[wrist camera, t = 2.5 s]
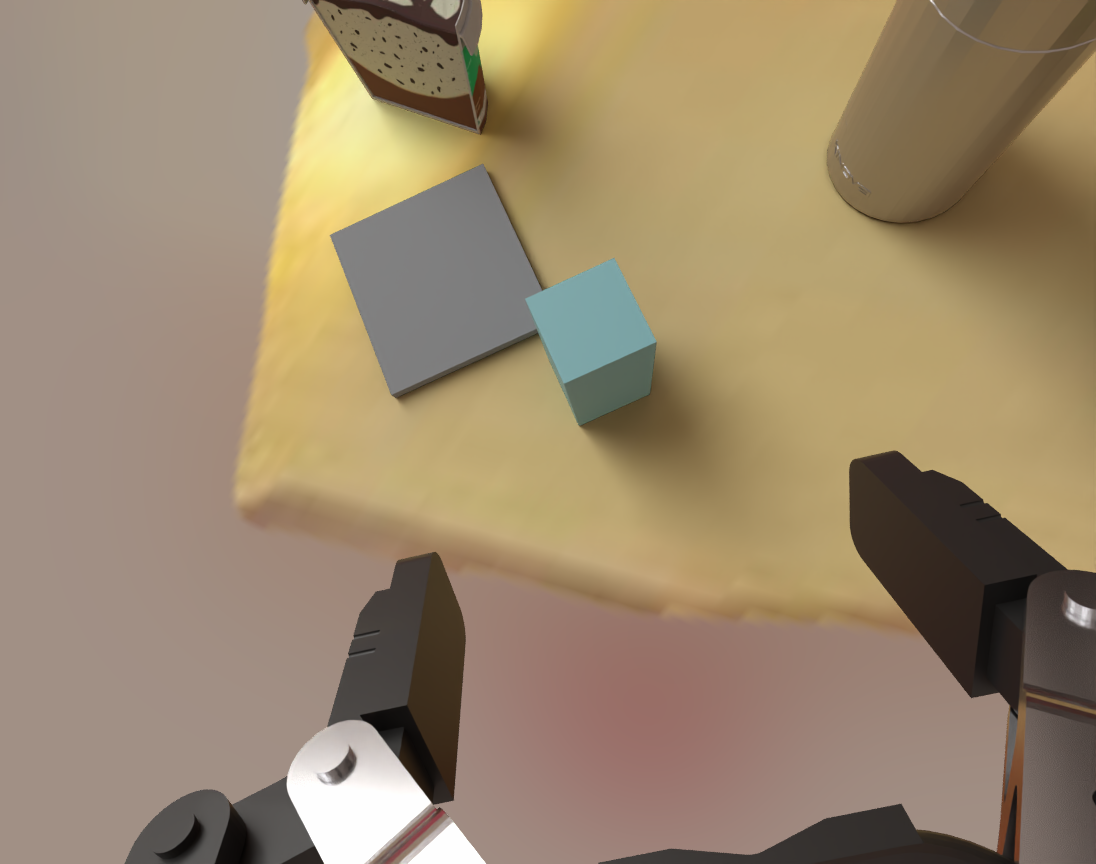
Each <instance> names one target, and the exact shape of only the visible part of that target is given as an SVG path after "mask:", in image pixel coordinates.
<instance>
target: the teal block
mask: <svg viewBox="0 0 1096 864" xmlns="http://www.w3.org/2000/svg"><path fill="white" fill-rule="evenodd" d="M525 300H526V303H527V305H528V308H529V310H530V313H531V315H532V318H533V321H534V323H535V326H536V328H537V331H538V333H539V336H540V338H541V341H542V344H543V346H544V349H545V351H546V354H547V356H548V359H549V361H550V363H551V366H552V368H553V370H554V372H555V374H556V377H557V379H558V381H559V383H560V385H561V388H562V390H563V392H564V394H565V396H566V398H567V401H568V403H569V405H570V407H571V409H572V412H573V414H574V416H575V418H576V420H577V423H578V425H579V426H580V425H583V424H585V423H587V422H589V421H592V420H594V419H596V418H598V417H600V416H603V415H605V414H607V413H609V412H612V411H614V410H616V409H618V408H620V407H623V406H625V405H627V404H629V403H631V402H634V401H636V400H638V399H640V398H643V397H645V396H647V395H649V394H650V389H651V382H652V374H653V366H654V358H655V350H656V340H655V338H654V336H653V334H652V332H651V330H650V328H649V326H648V324H647V322H646V320H645V318H644V316H643V314H642V312H641V310H640V308H639V306H638V304H637V302H636V300H635V298H634V296H633V294H632V292H631V290H630V288H629V286H628V284H627V282H626V280H625V278H624V276H623V274H622V272H621V270H620V268H619V267H618V265H617V263H616V261H615V259H614V258H613V259H611V260H609V261H606V262H604V263H602V264H600V265H598V266H596V267H593V268H591V269H589V270H587V271H585V272H582V273H580V274H578V275H576V276H574V277H572V278H569V279H567V280H565V281H563V282H561V283H558V284H556V285H554V286H552V287H550V288H548V289H545V290H543V291H541V292H539V293H537V294H534V295H532V296H530V297H528V298H526V299H525Z"/></svg>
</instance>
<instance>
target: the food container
mask: <svg viewBox="0 0 1096 864" xmlns="http://www.w3.org/2000/svg"><path fill="white" fill-rule="evenodd" d="M302 1H303V3H304V4H307V2H308V1H309V2H310V3H311V5H312V6H313V8H314V10H315V11H316V13H317V14H318V16H319V17H320V19H321V20H322V22H323V24H324V25H325V27H326V28H327V30H328V31H329V33H330V34H331V36H332V37H333V39H334V41H335V42H336V44H337V45H338V47H339V48H340V50H341V51H342V53H343V54H344V56H345V58H346V59H347V61H348V62H349V64H350V65H351V67H352V68H353V70H354V71H355V73H356V74H357V76H358V78H359V79H360V81H361V82H362V84H363V85H364V87H365V88H366V90H367V91H368V93H369V95H370V96H371V98H372V99H375V100H378V101H381V102H384V103H387V104H390V105H393V106H396V107H399V108H402V109H405V110H408V111H411V112H414V113H417V114H420V115H423V116H426V117H429V118H432V119H435V120H438V121H441V122H444V123H447V124H450V125H453V126H456V127H459V128H462V129H465V130H468V131H471V132H474V133H477V134H480V135H481V132H482V130H483V128H484V125H485V123H486V117H487V106H488V101H487V95H486V89H485V84H484V78H483V72H482V66H481V61H480V55H479V49H478V41H479V37H480V33H481V29H482V8H481V1H480V0H302Z"/></svg>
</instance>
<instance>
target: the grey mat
mask: <svg viewBox="0 0 1096 864" xmlns="http://www.w3.org/2000/svg"><path fill="white" fill-rule="evenodd" d="M330 236H331V239H332V242H333V244H334V247H335V249H336V252H337V255H338V257H339V260H340V262H341V265H342V268H343V270H344V273H345V276H346V278H347V281H348V283H349V286H350V289H351V291H352V294H353V296H354V299H355V302H356V304H357V307H358V309H359V312H360V315H361V317H362V320H363V322H364V325H365V328H366V330H367V333H368V335H369V338H370V341H371V343H372V346H373V348H374V351H375V354H376V356H377V359H378V362H379V364H380V367H381V369H382V372H383V375H384V377H385V380H386V382H387V385H388V388H389V390H390V393H391V395H392V396H394V397H395V398H397V397H399V396H401V395H403V394H405V393H408V392H410V391H412V390H414V389H416V388H419V387H421V386H423V385H425V384H427V383H429V382H432V381H434V380H436V379H438V378H440V377H443V376H445V375H447V374H449V373H451V372H454V371H456V370H458V369H460V368H462V367H465V366H467V365H469V364H471V363H473V362H476V361H478V360H480V359H482V358H484V357H487V356H489V355H491V354H493V353H495V352H497V351H500V350H502V349H504V348H506V347H508V346H511V345H513V344H515V343H517V342H519V341H522V340H524V339H526V338H528V337H530V336H533V335H535V334H537V333H538V331H537V328H536V326H535V323H534V321H533V318H532V315H531V313H530V310H529V308H528V305H527V303H526V300H525V299H526V298H528V297H530V296H532V295H534V294H537V293H539V292H541V291H542V289H541V287H540V285H539V283H538V280H537V278H536V276H535V274H534V272H533V270H532V268H531V265H530V263H529V261H528V259H527V257H526V255H525V253H524V250H523V248H522V246H521V244H520V242H519V240H518V238H517V235H516V233H515V231H514V229H513V227H512V225H511V223H510V220H509V218H508V216H507V214H506V212H505V210H504V208H503V205H502V203H501V201H500V199H499V197H498V195H497V193H496V190H495V188H494V186H493V184H492V182H491V180H490V178H489V175H488V173H487V171H486V169H485V167H484V165H483V164H481V165H479V166H477V167H475V168H473V169H471V170H469V171H466V172H464V173H462V174H460V175H458V176H456V177H454V178H451V179H449V180H447V181H445V182H443V183H441V184H439V185H436V186H434V187H432V188H430V189H428V190H426V191H423V192H421V193H419V194H417V195H415V196H413V197H411V198H408V199H406V200H404V201H402V202H400V203H398V204H396V205H393V206H391V207H389V208H387V209H385V210H383V211H381V212H378V213H376V214H374V215H372V216H370V217H368V218H366V219H363V220H361V221H359V222H357V223H355V224H353V225H350V226H348V227H346V228H344V229H342V230H340V231H338V232H335V233H333V234H331V235H330Z"/></svg>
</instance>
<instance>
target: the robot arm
mask: <svg viewBox="0 0 1096 864" xmlns="http://www.w3.org/2000/svg"><path fill="white" fill-rule="evenodd" d="M1095 51H1096V0H897V1H896V3H895V6H894V8H893V10H892V12H891V14H890V16H889V18H888V20H887V22H886V24H885V26H884V29H883V31H882V33H881V35H880V37H879V39H878V41H877V43H876V45H875V47H874V49H873V52H872V54H871V56H870V58H869V60H868V62H867V64H866V66H865V68H864V70H863V72H862V75H861V77H860V79H859V81H858V83H857V85H856V87H855V89H854V91H853V93H852V95H851V97H850V99H849V101H848V104H847V106H846V108H845V110H844V112H843V114H842V116H841V118H840V120H839V122H838V125H837V127H836V129H835V131H834V133H833V135H832V137H831V140H830V143H829V147H828V150H827V166H828V171H829V175H830V178H831V180H832V182H833V184H834V186H835V188H836V190H837V191H838V192H839V193H840V195H841V196H842V197H843V199H844V200H845V201H847V202H848V203H849V204H850V205H852V206H853V207H854V208H855V209H857V210H859V211H861V212H862V213H864V214H866V215H868V216H870V217H874V218H877V219H880V220H883V221H890V222H898V223H904V222H917V221H921V220H925V219H929V218H932V217H934V216H936V215H939V214H941V213H943V212H945V211H946V210H948V209H949V208H950V207H952V206H953V205H954V204H956V203H957V202H958V201H959V200H960V199H961V198H962V196H963V195H964V194H965V193H966V192H967V191H968V190H969V189H970V188H971V187H972V186H973V185H974V183H975V182H976V181H977V180H978V179H979V178H980V177H981V176H982V175H983V174H984V173H985V171H986V170H987V169H988V168H989V167H990V166H991V165H992V164H993V163H994V162H995V161H996V160H997V159H998V158H999V156H1000V155H1001V154H1002V153H1003V152H1004V151H1005V150H1006V149H1007V148H1008V147H1009V146H1010V144H1011V143H1012V142H1013V141H1014V140H1015V139H1016V138H1017V137H1018V136H1019V135H1020V133H1021V132H1022V131H1023V130H1024V129H1025V128H1026V127H1027V126H1028V125H1029V124H1030V122H1031V121H1032V120H1033V119H1034V118H1035V117H1036V116H1037V115H1038V114H1039V113H1040V112H1041V110H1042V109H1043V108H1044V107H1045V106H1046V105H1047V104H1048V103H1049V102H1050V101H1051V99H1052V98H1053V97H1054V96H1055V95H1056V94H1057V93H1058V92H1059V91H1060V90H1061V88H1062V87H1063V86H1064V85H1065V84H1066V83H1067V82H1068V81H1069V80H1070V79H1071V78H1072V76H1073V75H1074V74H1075V73H1076V72H1077V71H1078V70H1079V69H1080V68H1081V67H1082V65H1083V64H1084V63H1085V62H1086V61H1087V60H1088V59H1089V58H1090V57H1091V56H1092V54H1093V53H1094V52H1095ZM849 488H850V530H851V535H852V539H853V542H854V545H855V547H856V549H857V551H858V553H859V555H860V557H861V558H862V559H863V561H864V562H865V563H866V565H867V566H868V567H869V568H870V570H871V571H872V572H873V573H874V575H875V576H876V577H877V579H878V580H879V581H880V582H881V584H882V585H883V586H884V588H885V589H886V590H887V591H888V593H889V594H890V595H891V596H892V598H893V599H894V600H895V602H896V603H897V604H898V605H899V607H900V608H901V609H902V610H903V612H904V613H905V614H906V616H907V617H908V618H909V619H910V621H911V622H912V623H913V625H914V626H915V627H916V628H917V630H918V631H919V632H920V633H921V635H922V636H923V637H924V639H925V640H926V641H927V642H928V644H929V645H930V646H931V647H932V649H933V650H934V651H935V653H936V654H937V655H938V656H939V657H940V659H941V660H942V661H943V663H944V664H945V665H946V667H947V668H948V669H949V670H950V672H951V673H952V674H953V676H954V677H955V678H956V679H957V681H958V682H959V683H960V684H961V686H962V687H963V688H964V690H965V691H966V692H967V693H968V695H969V696H970V697H971V698H973V697H979V696H984V695H989V694H993V693H1000V694H1001V695H1002V696H1003V698H1004V699H1005V700H1006V701H1007V702H1008V704H1009V711H1008V718H1007V731H1006V745H1005V760H1004V774H1003V790H1002V803H1001V819H1000V828H999V838H998V845H997V852H995V851H993V850H990V849H988V848H985V847H983V846H981V845H978V844H976V843H973V842H971V841H967V840H964V839H961V838H958V837H954V836H951V835H947V834H942V833H937V832H931V831H926V830H916V829H915V827H914V826H913V824H912V822H911V820H910V819H909V817H908V815H907V813H906V811H905V810H904V808H903V806H902V804H898V805H893V806H888V807H883V808H877V809H872V810H867V811H862V812H857V813H852V814H847V815H842V816H837V817H831V818H826V819H824V820H822V821H820V822H818V823H816V824H814V825H812V826H810V827H809V828H807V829H805V830H803V831H801V832H799V833H797V834H795V835H793V836H791V837H790V838H788V839H786V840H784V841H782V842H780V843H778V844H776V845H775V846H773V847H771V848H769V849H767V850H765V851H763V852H761V853H758V854H753V855H742V854H729V853H718V852H717V853H716V852H705V851H693V850H681V849H667V850H663V851H657V852H652V853H647V854H641V855H636V856H632V857H626V858H621V859H616V860H611V861H606V862H600V863H599V864H1096V573H1093V572H1088V571H1080V570H1068V569H1066V568H1065V567H1064V566H1063V565H1061V564H1060V563H1059V562H1058V561H1057V560H1055V559H1054V558H1053V557H1052V556H1051V555H1049V554H1048V553H1047V552H1046V551H1045V550H1043V549H1042V548H1041V547H1040V546H1039V545H1037V544H1036V543H1035V542H1034V541H1032V540H1031V539H1030V538H1029V537H1028V536H1026V535H1025V534H1024V533H1023V532H1022V531H1020V530H1019V529H1018V528H1017V527H1016V526H1014V525H1013V524H1012V523H1011V522H1010V521H1008V520H1007V519H1006V518H1002V517H1001V514H1000V513H999V512H997V511H996V510H995V509H994V508H993V507H991V506H990V505H989V504H988V503H986V504H985V503H984V502H983V499H982V498H981V497H979V496H978V495H977V494H976V493H974V492H973V491H972V490H971V489H970V488H968V487H967V486H966V485H965V484H964V483H962V482H960V481H958V480H956V479H953V478H951V477H948V476H946V475H944V474H941V473H939V472H937V471H934V470H930V471H925V472H921V471H920V470H919V469H918V468H917V467H916V466H914V465H913V464H912V463H911V462H910V461H909V460H908V459H907V458H905V457H904V456H903V455H902V454H901V453H899V452H898V451H889V452H885V453H880V454H876V455H871V456H867V457H863V458H858V459H854V460H852V462H851V464H850V469H849ZM465 638H466V637H465V627H464V621H463V616H462V612H461V610H460V607H459V604H458V601H457V599H456V596H455V594H454V591H453V589H452V586H451V583H450V581H449V578H448V576H447V573H446V571H445V568H444V566H443V563H442V561H441V558H440V556H439V555H438V554H437V553H436V552H432V553H428V554H423V555H419V556H414V557H410V558H406V559H401V560H398V561H397V563H396V566H395V570H394V574H393V578H392V582H391V587H390V589H386V590H382V591H377V592H375V594H374V595H373V596H372V598H371V599H370V600H369V602H368V603H367V604H366V606H365V607H364V609H363V610H362V611H361V612H360V614H359V618H358V622H357V625H356V628H355V632H354V640H352V642H351V646H350V649H349V653H348V654H349V658H347V660H346V663H345V667H344V670H343V674H342V677H341V681H340V684H339V688H338V691H337V695H336V698H335V701H334V705H333V709H332V712H331V716H330V719H329V722H328V726H327V728H325V729H323V730H322V731H321V732H319V733H318V734H316V735H315V736H314V737H313V738H311V739H310V740H309V741H308V742H307V743H306V744H305V745H304V746H303V747H302V749H301V750H300V751H299V753H298V754H297V756H296V757H295V759H294V760H293V762H292V765H291V767H290V769H289V773H288V776H286V777H285V778H283V779H281V780H280V781H278V782H276V783H274V784H272V785H270V786H268V787H266V788H264V789H262V790H261V791H258V792H256V793H254V794H252V795H251V796H248V797H247V798H245V799H243V800H241V801H239V802H237V803H235V804H233V805H232V804H231V803H230V802H229V800H228V799H227V798H226V797H225V796H224V794H222V793H221V792H218V791H215V790H200V791H196V792H193V793H190V794H188V795H186V796H184V797H181V798H180V799H178V800H176V801H175V802H173V803H171V804H170V805H169V806H167V807H166V808H165V809H163V810H162V811H161V812H160V813H159V814H158V815H157V816H155V818H154V819H153V820H152V821H151V822H150V823H149V824H148V825H147V826H146V827H145V829H144V830H143V831H142V832H141V834H140V835H139V837H138V838H137V840H136V841H135V843H134V845H133V847H132V849H131V851H130V853H129V855H128V857H127V859H126V862H125V864H486V863H485V862H484V861H483V860H482V859H481V857H480V856H479V854H478V853H477V852H476V851H475V849H474V848H473V847H472V845H471V844H470V843H469V842H468V840H467V839H466V838H465V836H464V835H463V834H462V832H461V831H460V830H459V829H458V827H457V826H456V825H455V823H454V822H453V821H452V820H451V818H450V817H449V816H448V815H447V814H446V812H445V811H443V809H441V808H440V807H439V808H438V809H436V808H435V807H434V804H439V803H444V802H449V801H453V800H454V789H455V776H456V762H457V749H458V736H459V723H460V709H461V696H462V683H463V669H464V656H465V642H466V639H465Z"/></svg>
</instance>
